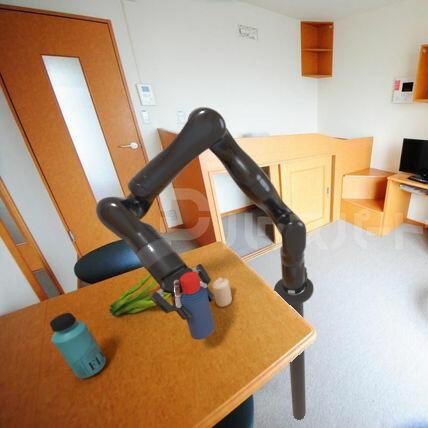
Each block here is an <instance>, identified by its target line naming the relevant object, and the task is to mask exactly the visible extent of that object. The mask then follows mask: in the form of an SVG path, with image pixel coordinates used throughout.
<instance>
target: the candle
mask: <svg viewBox="0 0 428 428" xmlns="http://www.w3.org/2000/svg"><path fill="white" fill-rule="evenodd" d="M212 290H213V294H214V300H215V303H216V305H217V306H218V307H221V308H222V307H227V306H229V305H231V303H232V301H233V296H232V291H231V285H230V280H229V279H227V278H225V277H218V278H217V279H216V280H214V281H213V282H212Z"/></svg>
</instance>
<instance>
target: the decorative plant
mask: <svg viewBox="0 0 428 428" xmlns="http://www.w3.org/2000/svg"><path fill="white" fill-rule="evenodd" d="M142 274H143V272H141V273H140V274H139V276H138V278H139V282H138V283H137V284H136V285H135V286H134V287H131V288H129V289H128V290H126V291H124V292H123V293H121V294H120V296H119V297H118V298H117V300H115V301H114V302H113V303H111V304H109V306H110V308H109V309H108V310H109V313H110V314H111V316H113V317H117V316H118V315H121V314H125V313H128V314H135V313H137V312H141V311H143V310H145V309H148V308H151V307H155V306H157V305H156V304H155V303H154V302H153V301H152V300H151V299H150V297H151V295H152V294H153V293H152V294H148V293H149V292H150V291H151V290H152V288H153V287H154V286H155V285H156V284H158V283H157V282H156V280H155V279H154V280H153V281H151V282H150V283H148V284H147V285H146V283H147V282H148V281H149V280H150V279H151V278H152V276H151V274H150V273H149V272H148V274H147V275H146V276H145V277H143V278H141V275H142ZM199 280H200V281H201V282H202V280H201V279H199ZM144 285H146V287H144ZM135 294H136V295H135ZM163 295H164V297H163V298H164V299H165V300H166V299H168V298H169V297H170V296H171V294H170V293H165V292H163ZM168 303H169V304H170V305H171V306H172V305H173V304H171V302H168Z"/></svg>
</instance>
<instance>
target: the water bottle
mask: <svg viewBox="0 0 428 428" xmlns="http://www.w3.org/2000/svg"><path fill="white" fill-rule="evenodd" d="M181 306H184V307H185V308H186V309H187V311H188V312H189V313H190V314H191V316H192V318H190V319H189V320H186V323H187V327H188V330H189V333H190V336H191V338H192V339H193V340H196V341H200V340H201V341H202V340H204V339H206V338H209V337H210V336H211V335H212V334H213V332H214V331H215V327H216V325H215V319H214V316H213V312H212V306H211V302H209V298H208V294H207V290H206V289H205V288H204V287H202V286H201V287H200V289H199V290H198V291H197V292H195V293H192V294H185V293H184V292H182V293H181Z"/></svg>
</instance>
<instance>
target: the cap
mask: <svg viewBox="0 0 428 428" xmlns="http://www.w3.org/2000/svg"><path fill="white" fill-rule="evenodd" d="M199 280H200V277H199V276H198V274H197V273H196V272H188V273H186V274H184V275H182V276H181V278H180V283H181V286H182V290H183V292H184V293H185V294H192V293H195V292H197V291H198V290H199V289H200V287H201V286H200V281H199ZM183 292H182V293H183Z"/></svg>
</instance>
